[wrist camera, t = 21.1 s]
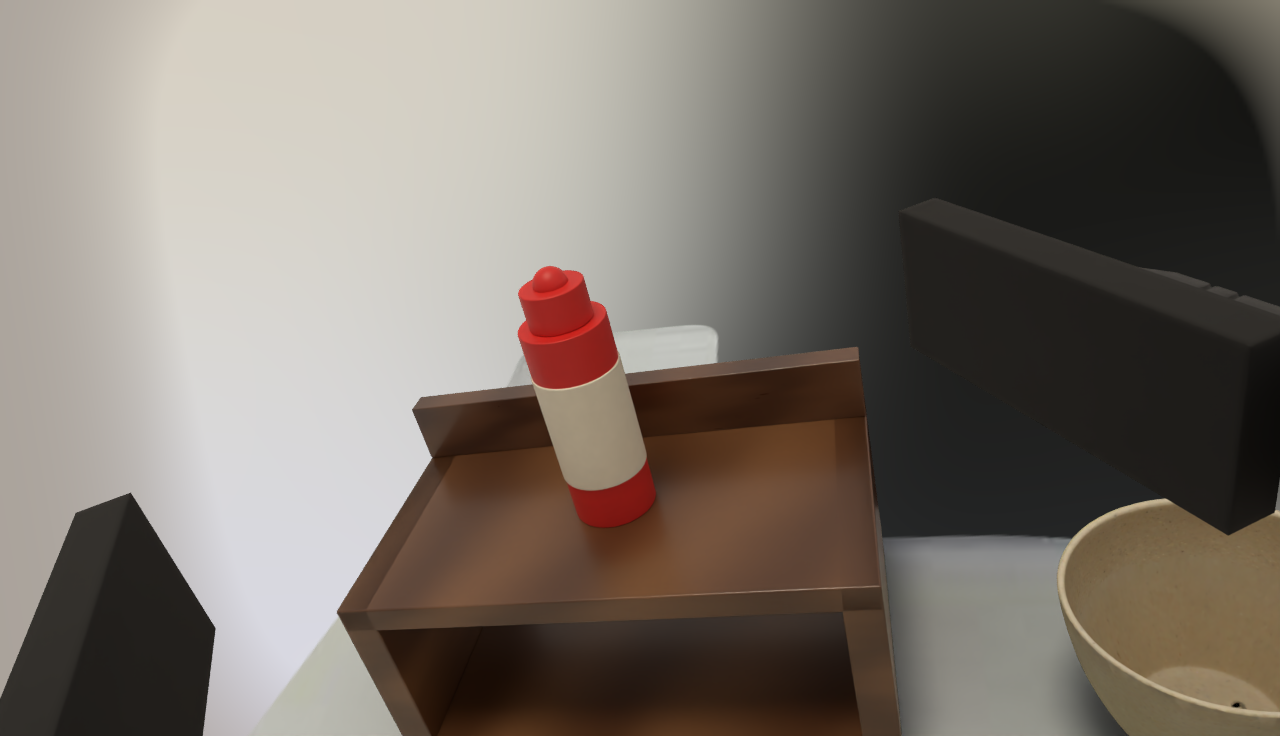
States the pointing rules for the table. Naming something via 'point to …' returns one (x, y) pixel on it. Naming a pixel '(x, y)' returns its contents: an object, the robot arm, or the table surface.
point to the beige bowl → (1177, 620)
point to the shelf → (642, 568)
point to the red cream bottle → (585, 399)
